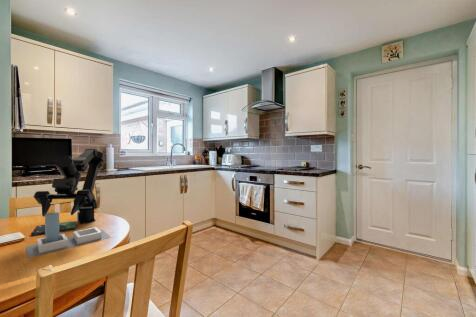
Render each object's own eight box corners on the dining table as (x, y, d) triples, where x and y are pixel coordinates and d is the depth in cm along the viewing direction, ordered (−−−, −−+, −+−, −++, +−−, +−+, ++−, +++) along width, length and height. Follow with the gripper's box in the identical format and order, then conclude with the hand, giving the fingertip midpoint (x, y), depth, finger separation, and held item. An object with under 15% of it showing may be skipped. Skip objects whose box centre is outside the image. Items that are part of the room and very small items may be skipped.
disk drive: (30, 240, 92) (75, 232, 100) (30, 233, 92) (75, 226, 100) (36, 231, 101) (77, 225, 109) (36, 225, 100) (76, 220, 108)
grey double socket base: (102, 231, 100) (102, 224, 100) (111, 239, 92) (111, 231, 92) (25, 249, 82) (25, 239, 82) (27, 261, 74) (27, 250, 74)
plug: (58, 242, 86) (58, 211, 85) (60, 246, 83) (59, 214, 83) (44, 245, 83) (44, 213, 83) (46, 249, 80) (45, 216, 80)
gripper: (35, 170, 89) (17, 205, 78) (90, 170, 94) (79, 202, 83) (47, 187, 96) (31, 220, 86) (96, 186, 101) (87, 217, 91)
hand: (57, 215), depth 86 cm, fingers open, 9 cm apart
